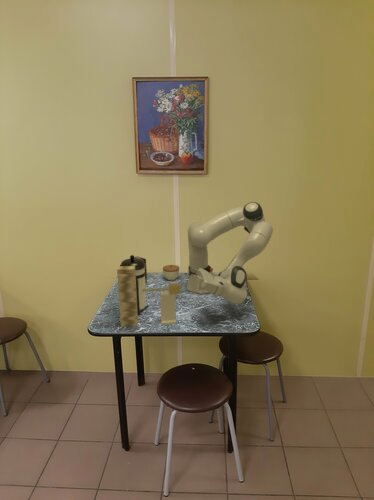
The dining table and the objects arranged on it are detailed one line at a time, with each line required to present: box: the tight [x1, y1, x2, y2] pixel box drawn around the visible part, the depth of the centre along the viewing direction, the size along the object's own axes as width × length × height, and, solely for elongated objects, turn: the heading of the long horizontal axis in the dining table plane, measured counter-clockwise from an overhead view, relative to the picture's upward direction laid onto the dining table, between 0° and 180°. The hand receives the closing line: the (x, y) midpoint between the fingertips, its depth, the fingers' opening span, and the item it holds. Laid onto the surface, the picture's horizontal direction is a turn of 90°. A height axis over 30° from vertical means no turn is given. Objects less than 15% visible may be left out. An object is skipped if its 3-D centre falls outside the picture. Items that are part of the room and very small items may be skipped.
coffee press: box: [119, 254, 149, 316], centre depth 182 cm, size 17×16×30 cm
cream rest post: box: [159, 291, 177, 326], centre depth 174 cm, size 7×8×15 cm
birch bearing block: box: [116, 266, 139, 327], centre depth 169 cm, size 8×6×28 cm
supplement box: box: [134, 255, 148, 283], centre depth 223 cm, size 9×5×16 cm, turn 44°
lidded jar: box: [162, 264, 180, 281], centre depth 229 cm, size 11×11×9 cm
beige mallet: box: [142, 282, 181, 295], centre depth 170 cm, size 18×4×4 cm, turn 97°
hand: (192, 272), depth 170 cm, fingers open, 8 cm apart
